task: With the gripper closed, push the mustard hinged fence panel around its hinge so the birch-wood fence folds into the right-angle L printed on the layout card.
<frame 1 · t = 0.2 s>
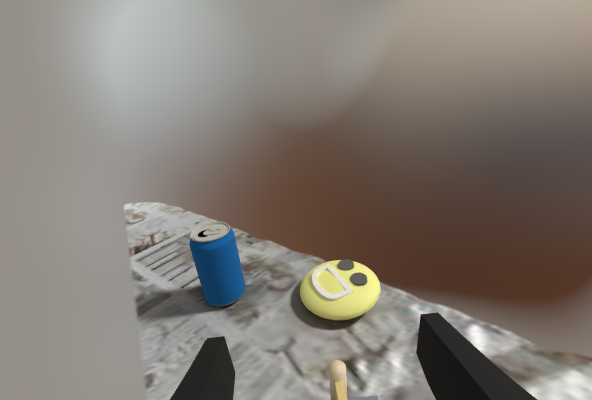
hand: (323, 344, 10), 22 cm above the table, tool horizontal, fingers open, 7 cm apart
emoji: (339, 297, 42), on the table
beverage can: (226, 295, 45), on the table
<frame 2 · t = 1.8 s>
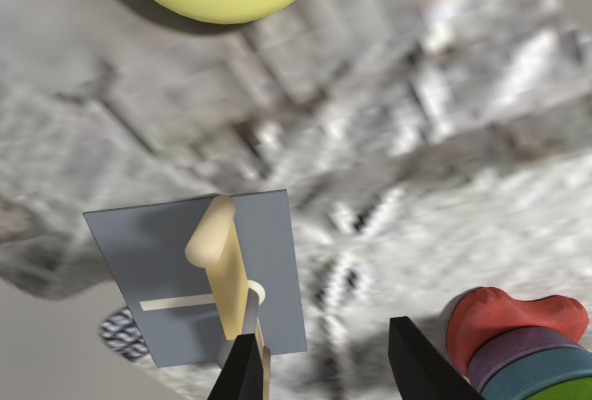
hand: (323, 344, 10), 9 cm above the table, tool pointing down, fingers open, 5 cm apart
stacking bear: (497, 332, 24), on the table
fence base: (247, 291, 21), resting on layout card
fence panel: (229, 282, 17), point 3 cm above the table, hinge at 0.0°
layout card: (213, 290, 21), on the table
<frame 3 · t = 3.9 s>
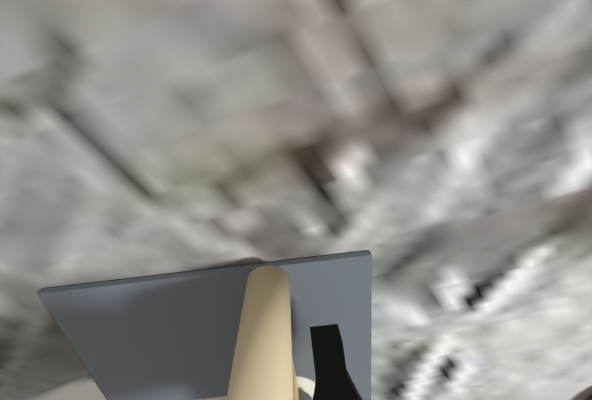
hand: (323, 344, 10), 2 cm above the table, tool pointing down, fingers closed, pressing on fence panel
layout card: (242, 387, 14), on the table
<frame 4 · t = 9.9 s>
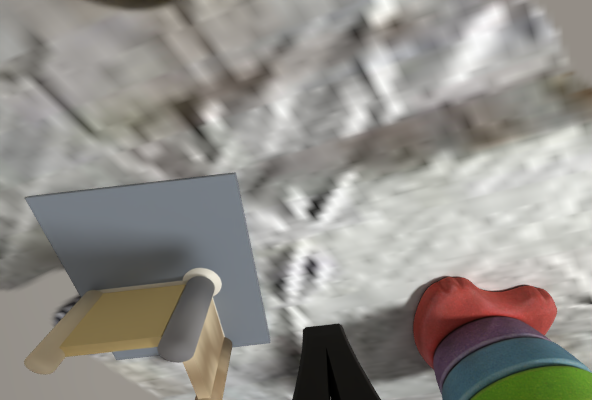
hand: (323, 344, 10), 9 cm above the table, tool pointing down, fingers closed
stacking bear: (466, 323, 24), on the table
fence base: (203, 280, 20), resting on layout card
fence panel: (132, 320, 18), point 3 cm above the table, hinge at 89.8°
layout card: (167, 279, 20), on the table
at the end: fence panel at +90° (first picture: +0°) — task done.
